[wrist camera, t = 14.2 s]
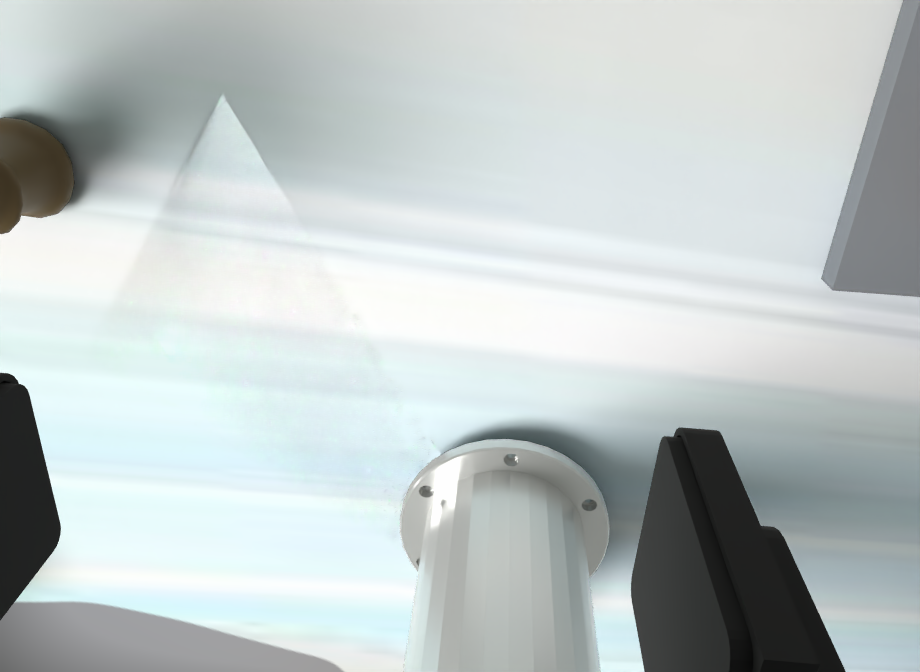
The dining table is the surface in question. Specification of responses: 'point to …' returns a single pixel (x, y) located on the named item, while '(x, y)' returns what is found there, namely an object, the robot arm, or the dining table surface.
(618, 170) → the dining table surface
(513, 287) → the dining table surface
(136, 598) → the dining table surface
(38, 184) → the kendama
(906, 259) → the board
